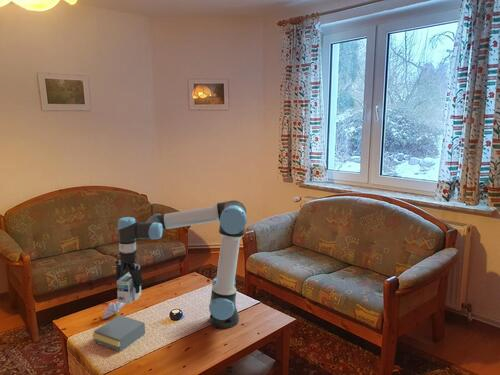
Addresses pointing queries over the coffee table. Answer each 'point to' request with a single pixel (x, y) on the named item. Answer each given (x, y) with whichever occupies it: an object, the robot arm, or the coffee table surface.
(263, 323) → the coffee table surface
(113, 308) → the water lily
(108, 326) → the book
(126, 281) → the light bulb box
